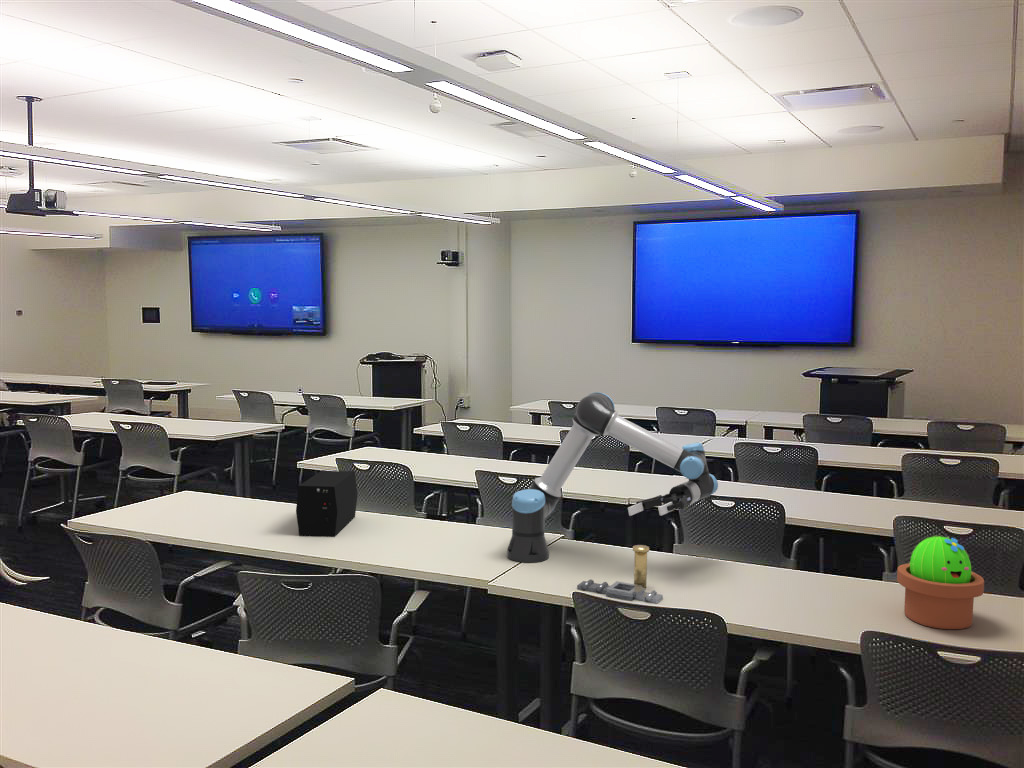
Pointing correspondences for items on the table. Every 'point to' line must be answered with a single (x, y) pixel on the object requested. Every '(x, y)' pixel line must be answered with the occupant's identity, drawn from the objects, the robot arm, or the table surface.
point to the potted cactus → (940, 584)
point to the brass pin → (640, 565)
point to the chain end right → (634, 592)
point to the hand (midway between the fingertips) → (644, 511)
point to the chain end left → (602, 589)
